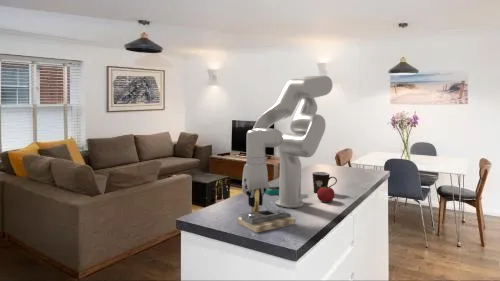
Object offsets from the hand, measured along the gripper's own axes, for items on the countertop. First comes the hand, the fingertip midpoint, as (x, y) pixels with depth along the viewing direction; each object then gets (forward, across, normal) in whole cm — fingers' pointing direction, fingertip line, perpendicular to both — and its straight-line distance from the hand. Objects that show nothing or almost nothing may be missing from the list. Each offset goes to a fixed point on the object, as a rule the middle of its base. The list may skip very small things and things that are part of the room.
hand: (255, 205), depth 151 cm
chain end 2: (+2, +1, +12) cm, 12 cm away
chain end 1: (+1, +6, +12) cm, 14 cm away
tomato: (+5, -39, +1) cm, 40 cm away
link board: (+4, +4, +12) cm, 13 cm away
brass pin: (+3, 0, 0) cm, 3 cm away
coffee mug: (+5, -49, -11) cm, 51 cm away
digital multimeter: (+5, -31, -24) cm, 40 cm away
